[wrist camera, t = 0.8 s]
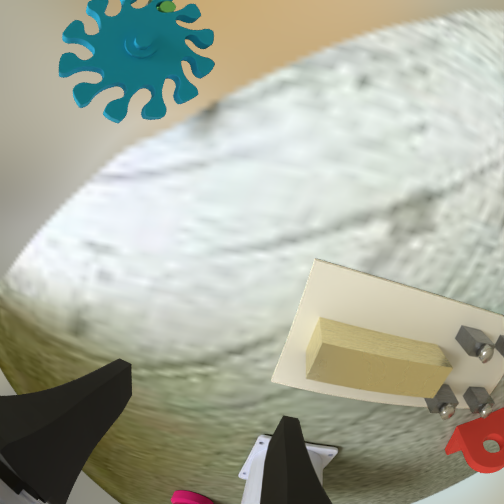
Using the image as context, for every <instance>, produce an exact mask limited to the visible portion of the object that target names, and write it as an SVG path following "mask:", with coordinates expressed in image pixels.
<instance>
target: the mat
mask: <svg viewBox="0 0 504 504" xmlns="http://www.w3.org/2000/svg"><path fill="white" fill-rule="evenodd" d="M319 317H322V318H326V319H330V320H333V321H337V322H341V323H345V324H349V325H353V326H357V327H361V328H366V329H370V330H374V331H378V332H382V333H387V334H391V335H395V336H400V337H404V338H409V339H413V340H418V341H423V342H428V343H432V344H437V345H438V347H439V348H440V349H441V351H442V352H443V354H444V355H445V357H446V358H447V359H448V361H449V362H450V364H451V365H452V367H453V369H452V371H451V372H450V374H449V375H448V377H447V378H446V380H445V382H444V383H443V384H448V385H449V386H450V388H451V390H452V391H453V393H454V395H455V397H456V398H457V400H458V402H459V404H458V405H457V406H456V408H469V406H468V405H467V403H466V401H465V399H464V398H463V395H464V393H465V392H466V390H467V389H468V388H469V386H472V387H484V388H485V389H486V391H487V392H488V394H489V395H490V394H491V393H492V391H493V390H494V388H495V387H496V385H497V384H498V382H499V381H500V379H501V378H502V376H503V374H504V357H503V356H502V355H501V354H500V353H499V352H498V351H497V349H496V348H494V354H493V357H492V358H491V360H490V361H488V362H487V363H482V362H481V360H480V359H479V358H478V357H472V356H469V355H468V354H467V353H466V352H465V350H464V349H463V348H462V347H461V345H460V344H459V343H458V342H457V340H456V339H455V337H456V335H457V333H458V331H459V329H460V327H461V325H464V326H467V327H471V328H475V329H479V330H481V331H482V332H483V333H484V334H485V335H486V336H487V337H488V338H489V339H490V340H491V341H492V342H493V343H494V344H495V343H496V341H497V340H498V338H499V336H500V335H504V315H501V314H498V313H494V312H491V311H488V310H485V309H482V308H478V307H475V306H472V305H469V304H466V303H462V302H459V301H456V300H453V299H449V298H446V297H443V296H440V295H436V294H433V293H430V292H427V291H423V290H420V289H417V288H413V287H410V286H407V285H403V284H400V283H397V282H393V281H390V280H387V279H383V278H380V277H377V276H373V275H370V274H367V273H363V272H360V271H356V270H353V269H350V268H346V267H343V266H339V265H336V264H333V263H329V262H326V261H322V260H319V259H314V262H313V265H312V268H311V271H310V274H309V277H308V280H307V283H306V286H305V289H304V292H303V295H302V298H301V301H300V304H299V307H298V310H297V312H296V315H295V318H294V321H293V323H292V326H291V329H290V332H289V334H288V337H287V340H286V342H285V345H284V348H283V350H282V353H281V356H280V358H279V361H278V363H277V366H276V368H275V371H274V373H273V376H272V378H271V382H275V383H279V384H283V385H287V386H291V387H295V388H300V389H304V390H309V391H314V392H318V393H323V394H329V395H334V396H339V397H345V398H351V399H357V400H364V401H371V402H379V403H387V404H396V405H406V406H417V407H428V406H427V404H426V402H425V399H424V398H422V397H412V396H403V395H395V394H387V393H380V392H373V391H367V390H361V389H355V388H349V387H344V386H338V385H333V384H328V383H323V382H319V381H314V380H309V379H306V348H307V346H308V344H309V341H310V339H311V336H312V334H313V332H314V329H315V327H316V324H317V322H318V319H319Z"/></svg>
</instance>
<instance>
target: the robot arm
mask: <svg viewBox="0 0 504 504" xmlns="http://www.w3.org/2000/svg"><path fill="white" fill-rule="evenodd" d="M131 396H132V376H131V364H130V363H128V362H126V361H124V360H122V359H117V360H115V361H113V362H111V363H109V364H107V365H105V366H103V367H101V368H99V369H97V370H95V371H93V372H91V373H89V374H87V375H85V376H83V377H80V378H78V379H76V380H73V381H71V382H68V383H66V384H63V385H60V386H57V387H54V388H51V389H47V390H44V391H39V392H34V393H28V394H22V395H12V396H0V504H41V503H40V502H38V501H37V500H38V499H40V500H41V501H42V502H44V503H46V502H47V503H49V504H66V502H67V499H68V497H69V494H70V492H71V490H72V488H73V486H74V483H75V481H76V479H77V477H78V475H79V474H80V472H81V470H82V468H83V466H84V464H85V462H86V461H87V459H88V457H89V456H90V454H91V452H92V451H93V449H94V448H95V446H96V445H97V443H98V442H99V441H100V440H101V438H102V437H103V436H104V435H105V433H106V432H107V431H108V429H109V428H110V427H111V426H112V424H113V423H114V422H115V421H116V419H117V418H118V417H119V415H120V414H121V413H122V411H123V410H124V408H125V406H126V405H127V403H128V401H129V399H130V397H131ZM337 453H338V448H336V447H329V446H321V445H314V444H308V443H305V441H304V438H303V434H302V430H301V426H300V422H299V420H298V418H293V417H288V416H284V415H283V417H282V419H281V421H280V423H279V425H278V426H277V428H276V430H275V432H274V434H273V436H267V435H260V436H259V437H258V439H257V441H256V443H255V445H254V447H253V449H252V451H251V452H250V454H249V456H248V458H247V460H246V462H245V464H244V466H243V467H242V469H241V471H240V473H239V477H240V478H242V479H247V481H246V485H245V489H244V494H243V498H242V502H241V504H332V502H331V501H330V499H329V498H328V496H327V494H326V492H325V491H324V489H323V469H324V468H325V467H326V466H327V464H328V463H329V462H330V461H331V460H332V459H333V458H334V456H335V455H336V454H337Z"/></svg>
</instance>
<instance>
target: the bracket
mask: <svg viewBox="0 0 504 504" xmlns="http://www.w3.org/2000/svg"><path fill="white" fill-rule="evenodd" d="M486 440H494V441H496V442H497V443H498V444H499V446H500V451H499V452H496V453H490V452H488V451H486V450H485V449H484V447H483V442H484V441H486ZM460 450H462V452H463V455H464V457H465V460H466V462H467V463H468V465H469V466H470V467H471V468H472V469H474V470H475V471H477V472H480V473H493V472H496V471H499V470H500V469H502V468H503V467H504V408H501V409H499V410H497V411H495V412H492V413H491V414H490V415H489V416H488V417H486V418H484V419H483V418H482V417H480V418H478V419H475V420H473V421H470V422H467V423H464V424H461V425H459V426H457V427H456V429H455V431H454V433H453V435H452V437H451V439H450V441H449V442H448V444H447V446H446V448H445V451H446V454H447V455H449V454H452V453H455V452H457V451H460Z"/></svg>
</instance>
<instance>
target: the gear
mask: <svg viewBox="0 0 504 504" xmlns="http://www.w3.org/2000/svg"><path fill="white" fill-rule="evenodd" d="M120 1H121V5H122V8H121V11H120V13H119V14H118V15H116V16H113V17H110V16H107V15H105V13H104V12H105V10H106V7H107V5H108V0H92V1H89V2H88V5H87V9H86V13H87V14H88V15H89V16H91V17H92V18H94V19H95V20H96V22H97V24H98V27H99V33H97V34H95V35H87V34H86V33H85V31H84V25H83V23H82V22H81V21H79V20H75V21H73V22H72V23H71V24H70V25H69V26H68V27H67V28H66V29H65V31H64V32H63V36H62V39H63V41H64V42H65V43H68V44H70V43H75V44H80V45H83V46H85V47H86V48H88V49H89V50H90V51H91V52H92V54H93V57H91V58H90V59H88V60H81V59H79V58H78V57H77V56H76V55H75V54H74V53H70V52H69V53H64V54H62V56H61V58H60V62H59V76H60V77H63V78H64V77H69V76H71V75H72V74H74V73H77V72H81V71H92V72H97V73H99V74H101V76H102V81H101V82H99V83H97V84H91V83H85V82H83V83H79V84H78V85H76V86H75V87H74V88H73V97H74V100H75V102H76V104H77V105H78V106H79V107H80V108H83V107H85V106H87V105H88V104H89V103H90V102H91V100H92V99H93V98H94V97H95V96H96V95H97V94H98V93H99V92H101V91H103V90H105V89H108V88H111V87H114V86H118V87H121V88H122V89H123V90H124V97H122V98H120V99H116V100H113V101H111V102H110V103H109V104H107V106H106V108H105V110H104V112H103V115H104V116H105V117H106V118H107V119H109V120H111V121H113V122H115V123H119V122H121V121H122V120H123V119H124V118H125V116H126V114H127V108H128V103H129V101H130V98H131V97H132V96H133V94H135V93H136V92H137V91H138V90H139V89H142V88H146V89H148V90H149V91H150V92H151V95H152V97H151V100H150V101H149V102H148V103H147V104H146V105H145V106H144V107H143V109H142V112H141V115H142V118H143V119H148V120H155V119H161V118H162V117H164V116H165V114H166V106H165V104H164V101H163V98H162V88H163V84H164V81H165V79H167V78H169V79H172V80H173V81H174V82H175V84H176V88H175V91H174V95H173V97H174V100H175V102H176V103H177V104H182V103H185V102H187V101H189V100H190V99H192V98H194V97H196V96H197V95H198V90H197V88H196V87H195V86H194V85H193V84H191V83H190V82H189V81H188V80H187V78H186V77H185V75H184V73H183V70H182V66H181V61H183V60H184V61H187V62H188V63H189V64H190V65H191V70H192V73H193V74H194V76H195V77H197V78H202V77H204V76H206V75H207V74H209V72H211V70H212V69H213V67H214V65H215V63H214V62H213V61H212V60H211V59H209V58H206V57H202V56H200V55H198V54H196V53H194V52H193V51H192V50H191V49H190V48H189V47H188V46H187V45H186V44H185V39H188V40H190V41H192V42H193V43H194V44H195V46H197V47H198V48H200V49H206V48H208V47H209V46H210V45H212V44H213V40H214V33H213V31H212V30H210V29H203V30H190V29H187V28H184V27H181V26H179V25H178V24H177V23H176V20H181V21H183V22H186V23H193V22H195V21H196V20H197V19H198V18H199V17H200V16H201V13H200V11H199V9H198V7H197V6H196V5H195V4H188V5H187V6H185V7H184V8H183V9H181V10H179V11H175V12H173V11H174V10H175V8H176V6H175V4H174V3H173V2H172V1H173V0H149V1H148V3H147V4H146V6H145V7H143V8H140V9H135V8H133V7H132V6H131V4H132V3H134V2H136V1H137V0H120Z"/></svg>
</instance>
